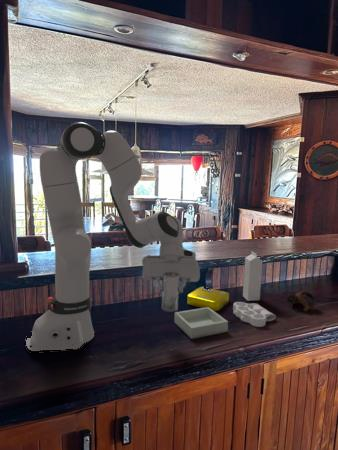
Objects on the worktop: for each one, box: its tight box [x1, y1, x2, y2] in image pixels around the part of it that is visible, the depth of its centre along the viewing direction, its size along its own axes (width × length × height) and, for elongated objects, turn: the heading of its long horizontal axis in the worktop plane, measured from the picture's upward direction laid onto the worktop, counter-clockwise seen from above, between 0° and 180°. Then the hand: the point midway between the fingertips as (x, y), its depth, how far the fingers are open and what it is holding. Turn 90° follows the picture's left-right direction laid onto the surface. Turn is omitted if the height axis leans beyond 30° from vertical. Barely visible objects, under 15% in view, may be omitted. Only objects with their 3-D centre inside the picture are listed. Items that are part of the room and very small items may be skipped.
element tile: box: [186, 286, 230, 312], centre depth 150 cm, size 15×15×5 cm
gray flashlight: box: [161, 272, 180, 313], centre depth 114 cm, size 6×6×13 cm
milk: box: [242, 250, 263, 302], centre depth 155 cm, size 6×6×22 cm
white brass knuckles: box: [232, 301, 277, 328], centre depth 136 cm, size 3×18×15 cm
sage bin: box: [174, 307, 229, 340], centre depth 125 cm, size 15×14×4 cm
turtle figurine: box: [285, 290, 316, 312], centre depth 146 cm, size 12×10×8 cm
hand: (170, 291), depth 113 cm, fingers closed on gray flashlight, 5 cm apart
